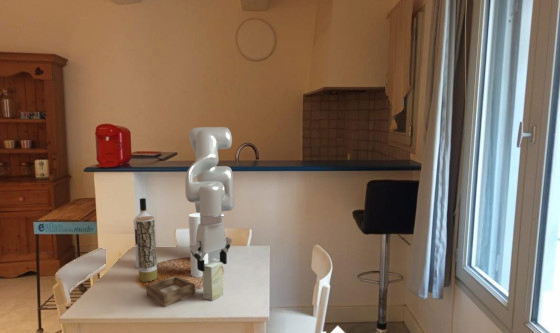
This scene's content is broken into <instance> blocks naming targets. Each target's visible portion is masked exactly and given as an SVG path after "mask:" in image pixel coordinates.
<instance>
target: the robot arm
mask: <svg viewBox="0 0 560 333" xmlns="http://www.w3.org/2000/svg"><path fill="white" fill-rule="evenodd" d="M188 134H189V135H188V137H189V143H190V145H191V148H192V150H193V152H194V155H195V158H196V159H195V161H194V162H193V163H192V164H191V165H190V166H189V168H188V169H187V172H186V174H185V180H184V181H185V183H184V188H185V189H184V190H185V192H184V193H185V198H186V200H187V201H188V202H189V203H194V205H195V206H194V207H195V213H200V224H198V228H197V237H196V245H194V246H193V247H192V248H191V249H190V248H189V249H190V250H189V252H190V251H191V253H192V255H193V256H194V257H195V258H196V259H197V268H198V270H200V271H202V272H203V271H205V264H204V260H203V258H204V256H205V254H208V263H209V262H212V261H218V262H222V265H226V264H228V262H227V261H228V258H227V256H228V254H227V253H229V249H230V248H231V243H232V241H233V239H232V238H230V237H227V236H226V230H225V225H224V221H222V220H223V218H224V217H225V216H224V214H223V212H229V211H232V210H233V209H234V207H235V191H234V190H235V188H234V174H233V170H232V168H231V167H230V166H226V165H219V166H217V165H218V164H219V161H220V160H219V150H227V149H230V148H231V147H232V144H233V137H232V132H231V130H230V128H228V127H227V126H216V127H215V126H204V127H202V126H199V127H194V128H191V129H190V130H189V133H188ZM195 178H196V179H197V180H196V181H194V179H195ZM196 250H197V251H198V253H197V252H196ZM200 255H201V256H200Z"/></svg>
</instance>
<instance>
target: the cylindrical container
mask: <svg viewBox="0 0 560 333" xmlns="http://www.w3.org/2000/svg"><path fill="white" fill-rule="evenodd" d="M198 224H200V213H197V212H194V213H190V214H188V228H189V230H188V231H189V234H188V235H189V249H191V248H192V247H193V246H194V245H196V237H197V228H198ZM196 252H197V253H198V251H197V250H196ZM189 254H190V258H189V259H190V275H192V276H191V277H193V276H194V277H193V278H203V277H202V276H203V272H202V271H200V270H198V268H197V259H196V258H195V257H194V256H193V255H192V253H191V251H190V250H189ZM200 256H201V255H200ZM203 260H204V264H207V263H208V254H205V256H204V258H203Z"/></svg>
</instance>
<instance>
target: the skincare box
mask: <svg viewBox="0 0 560 333" xmlns="http://www.w3.org/2000/svg"><path fill="white" fill-rule="evenodd" d="M223 273H224V272H223V263H222V262H218V261H212V262H209V263H207V264H205V271H203V277H202V288H203V289H202V291H203V292H202V293H203V296H202V297H203V299H206V300H210V301H214V300H215V299H218V298H219V297H222V296H223V295H224V280H223V279H224V278H223V277H224V276H223V275H224V274H223Z"/></svg>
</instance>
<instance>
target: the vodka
mask: <svg viewBox="0 0 560 333" xmlns="http://www.w3.org/2000/svg"><path fill="white" fill-rule="evenodd" d="M139 210H140V211H139V214H138V215H136V216H135V217H134V219H133V229H134V243H135V244H134V247H135V259H134V266H135V267H136V268H138V269H139V261H138V243H137V225H136V219H137V218H139V217H144V216H152V215H151V214H149V213H148V212H147V211H148V210H147V198H145V197H142V198H139ZM156 260H157V261H158V258H157V257H156Z"/></svg>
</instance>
